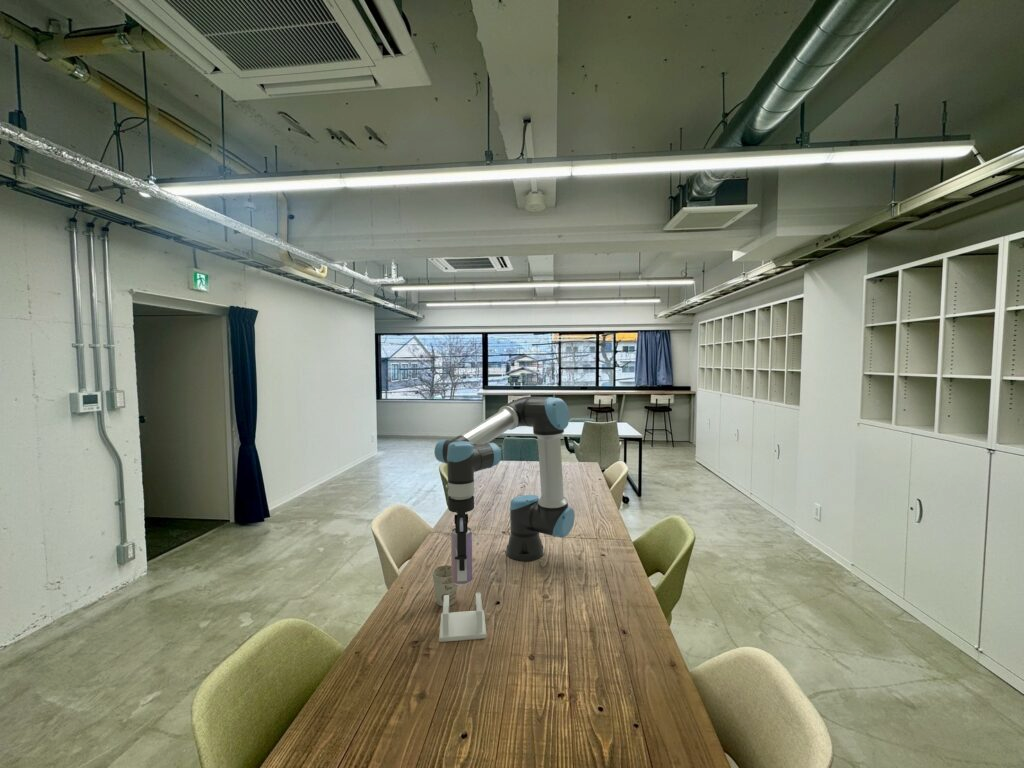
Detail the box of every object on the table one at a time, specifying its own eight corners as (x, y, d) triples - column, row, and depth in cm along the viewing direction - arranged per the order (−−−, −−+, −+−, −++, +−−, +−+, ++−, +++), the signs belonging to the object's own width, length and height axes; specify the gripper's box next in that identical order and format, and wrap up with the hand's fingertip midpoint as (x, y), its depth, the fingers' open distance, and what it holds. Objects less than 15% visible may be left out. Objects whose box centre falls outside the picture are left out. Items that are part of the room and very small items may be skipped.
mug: (434, 610, 132) (433, 578, 132) (430, 590, 144) (430, 561, 144) (460, 606, 135) (460, 575, 134) (455, 587, 147) (454, 558, 146)
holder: (441, 617, 129) (440, 593, 128) (483, 613, 130) (483, 590, 130) (439, 642, 117) (438, 616, 117) (486, 638, 118) (486, 612, 118)
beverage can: (472, 575, 126) (472, 526, 126) (471, 586, 120) (471, 533, 120) (452, 576, 126) (452, 526, 126) (450, 586, 120) (449, 534, 120)
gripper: (448, 487, 131) (449, 561, 132) (446, 506, 113) (448, 592, 113) (473, 486, 132) (473, 559, 133) (475, 505, 113) (476, 590, 114)
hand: (462, 574), depth 123 cm, fingers closed on beverage can, 6 cm apart
